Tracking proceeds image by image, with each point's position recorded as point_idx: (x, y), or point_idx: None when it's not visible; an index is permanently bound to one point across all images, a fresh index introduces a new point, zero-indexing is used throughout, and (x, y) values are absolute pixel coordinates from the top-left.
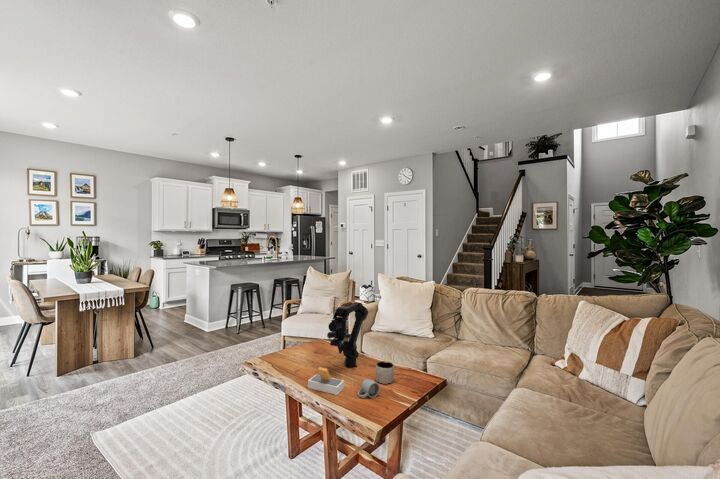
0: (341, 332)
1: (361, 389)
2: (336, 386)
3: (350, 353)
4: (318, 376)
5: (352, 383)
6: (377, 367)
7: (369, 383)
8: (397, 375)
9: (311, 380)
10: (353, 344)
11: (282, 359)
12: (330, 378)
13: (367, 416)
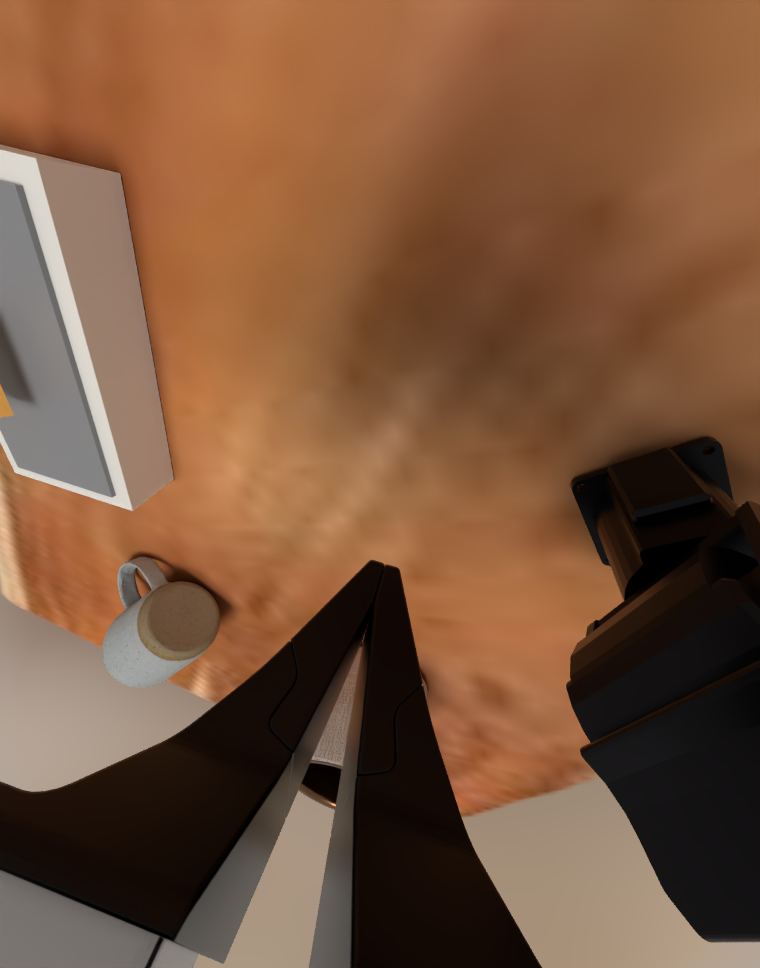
0: None
1: (152, 587)
2: (20, 465)
3: (579, 659)
4: (4, 234)
5: (261, 526)
6: None
7: (111, 660)
8: (460, 732)
9: None
10: (688, 894)
11: None
12: (8, 415)
13: (34, 577)
